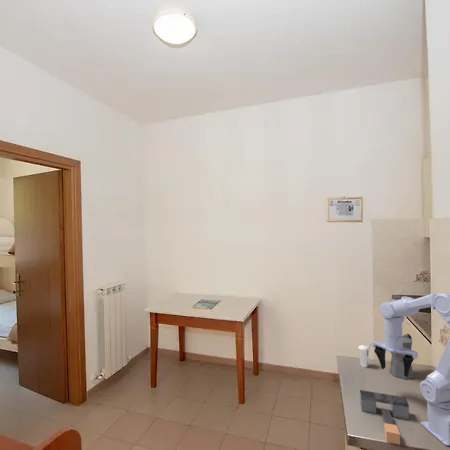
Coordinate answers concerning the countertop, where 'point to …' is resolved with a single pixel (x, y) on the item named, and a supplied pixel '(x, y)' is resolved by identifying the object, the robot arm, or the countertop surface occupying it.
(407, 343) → the coffeepot
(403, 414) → the grey bridge block
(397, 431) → the plug
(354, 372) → the countertop surface
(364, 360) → the milkshake
